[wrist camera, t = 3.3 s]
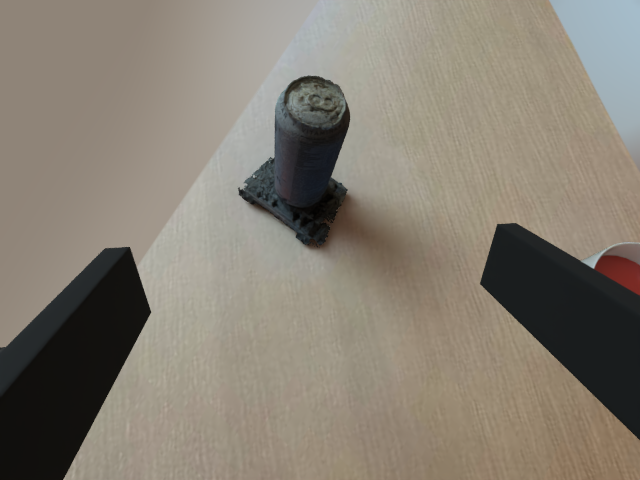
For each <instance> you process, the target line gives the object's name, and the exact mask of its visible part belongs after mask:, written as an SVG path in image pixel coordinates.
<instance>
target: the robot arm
mask: <svg viewBox="0 0 640 480" xmlns="http://www.w3.org/2000/svg"><path fill="white" fill-rule="evenodd" d="M480 284H481V285H482V286H483V287H484V288H485V289H486V290H487V291H488V292H489V293H490V294H491V295H492V296H493V297H494V298H495V299H496V300H497V301H498V302H499V303H500V304H501V305H502V306H503V307H504V308H505V309H506V310H507V311H508V312H509V313H510V314H511V315H512V316H513V317H514V318H515V319H516V320H517V321H518V322H520V323H521V324H522V325H523V326H524V327H525V328H526V329H527V330H528V331H529V332H530V333H531V334H532V335H533V336H534V337H535V338H536V339H537V340H538V341H539V342H540V343H541V344H542V345H543V346H544V347H545V348H546V349H547V350H548V351H549V352H550V353H551V354H552V355H553V356H554V357H555V358H556V359H557V360H558V361H559V362H560V363H561V364H562V365H563V366H565V367H566V368H567V369H568V370H569V371H570V372H571V373H572V374H573V375H574V376H575V377H576V378H577V379H578V380H579V381H580V382H581V383H582V384H583V385H584V386H585V387H586V388H587V389H588V390H589V391H590V392H591V393H592V394H593V395H594V396H595V397H596V398H597V399H598V400H599V401H600V402H601V403H602V404H603V405H604V406H605V407H606V408H607V409H608V410H610V411H611V412H612V413H613V414H614V415H615V416H616V417H617V418H618V419H619V420H620V421H621V422H622V423H623V424H624V425H625V426H626V427H627V428H628V429H629V430H630V431H631V432H632V433H633V434H634V435H635V436H636V437H637V438H638V439H639V440H640V295H638V294H636V293H634V292H633V291H631V290H629V289H628V288H626V287H624V286H622V285H621V284H619V283H617V282H616V281H614V280H612V279H610V278H609V277H607V276H605V275H604V274H602V273H600V272H599V271H597V270H595V269H593V268H592V267H590V266H588V265H587V264H585V263H583V262H581V261H580V260H578V259H576V258H575V257H573V256H571V255H569V254H568V253H566V252H564V251H563V250H561V249H559V248H557V247H556V246H554V245H552V244H551V243H549V242H547V241H545V240H544V239H542V238H540V237H539V236H537V235H535V234H533V233H532V232H530V231H528V230H527V229H525V228H523V227H521V226H520V225H518V224H516V223H510V224H497V227H496V231H495V234H494V238H493V241H492V244H491V248H490V251H489V255H488V258H487V262H486V265H485V268H484V272H483V275H482V279H481V282H480ZM150 314H151V310H150V307H149V304H148V301H147V298H146V295H145V292H144V289H143V286H142V283H141V280H140V277H139V273H138V270H137V267H136V264H135V262H134V258H133V255H132V252H131V249H130V247H122V248H105V249H104V250H103V251H102V252H101V253H100V254H99V255H98V256H97V257H96V258H95V259H94V260H93V261H92V262H91V263H90V264H89V265H88V266H87V267H86V268H85V269H84V270H83V271H82V272H81V273H80V274H79V275H78V276H77V277H76V278H75V279H74V280H73V281H72V282H71V283H70V284H69V285H68V286H67V287H66V288H65V289H64V290H63V291H62V292H61V293H60V294H59V295H58V296H57V297H56V298H55V299H54V300H53V301H52V302H51V303H50V304H49V305H48V306H47V307H46V308H45V309H44V310H43V311H42V312H41V313H40V314H39V315H38V316H37V317H36V318H35V319H34V320H33V321H32V322H31V323H30V324H29V325H28V326H27V327H26V328H25V329H24V330H23V331H22V332H21V333H20V334H19V335H18V336H17V337H16V338H15V339H14V340H13V341H12V342H11V343H10V344H9V345H8V346H7V347H3V348H0V480H63V479H64V477H65V475H66V473H67V471H68V470H69V468H70V466H71V464H72V462H73V460H74V458H75V456H76V454H77V452H78V451H79V449H80V447H81V445H82V443H83V441H84V439H85V437H86V435H87V433H88V431H89V430H90V428H91V426H92V424H93V422H94V420H95V418H96V416H97V414H98V412H99V411H100V409H101V407H102V405H103V403H104V401H105V399H106V397H107V395H108V393H109V392H110V390H111V388H112V386H113V384H114V382H115V380H116V378H117V376H118V374H119V373H120V371H121V369H122V367H123V365H124V363H125V361H126V359H127V357H128V355H129V354H130V352H131V350H132V348H133V346H134V344H135V342H136V340H137V338H138V336H139V334H140V333H141V331H142V329H143V327H144V325H145V323H146V321H147V319H148V317H149V315H150Z"/></svg>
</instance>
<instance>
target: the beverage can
mask: <svg viewBox="0 0 640 480" xmlns="http://www.w3.org/2000/svg"><path fill="white" fill-rule="evenodd" d="M349 122H350V112H349V108H348V104H347V102H346V100H345V97H344V94H343V93H342V90H341V89H340V87H339V86H338V85H337V84H334V83H333V82H331V81H330V80H325V79H323V78H322V77H321V78H320V77H319V76H318V77H317V76H304V77H300V78H298V79H297V80H294V81H293V82H291V83H290V84H289V85H288V87H287V88H286V89H285V90H284V91H283V92H282V93H281V95H280V96H279V98H278V100H277V103H276V108H275V157H274V159H273V158H271V157H270V158H269V161H266V162H265V164H263V165H261V167H260V169H259V170H257V171H256V172H255V173H254V174H253V175H255V176H257V177H256V178H253V175H252V176H251V178H250V177H249V178H248V179H247V180H245V182H244V183H247V184H248V186H245V187H246V188H245V189H244V190H245V191H243V189H242V190H240V189H239V188H238V189H239V195H240V196H242V198H243V199H244V200H246V201H247V202H250V203H251V204H259V205H261V206H263V208H265V209H268V211H270V213H272V214H274V215H275V217H276V218H278V219H280V220H281V221H282V222H284V223H285V224H286V225H289V226H291V227H290V228H292V229H293V230H294V231H296V232H297V235H296V238H297V239H298V240H300V241H301V242H303V243H304V244H307V243H308V242H309V239H314V240H316V241H317V243H318V244H320V245H322V244H323V243H324V242H325V241H326V240H325V238H326V237H328V236H327V234H328V232H329V231H328V230H330V227H329V225H328V226H327V225H326V223H321V222H322V221H323V220H324V218H325V219H326V218H327V217H328V218H329V220H330V221H331V222H332V220H334V219H333V218H335V216H336V213H337V211H336V210H337V209H338V208H339V207H340V206H341V202H343V199H344V197H345V195H346V193H347V192H346V191H347V190H348V189H346V188H345V187H343V186H342V183H338V182H337V181H335V180H334V179H333V178H331V175H332V172H333V169H334V167H335V164H336V161H337V159H338V155H339V152H340V150H341V148H342V144H343V142H344V139H345V136H346V133H347V130H348V127H349ZM267 159H268V158H267ZM270 159H272V160H270ZM269 162H270V163H269ZM246 178H247V177H246ZM345 190H346V191H345ZM329 215H330V217H329ZM328 218H327V220H328ZM329 220H328V221H329ZM330 221H329V222H330ZM331 222H330V223H331ZM332 223H333V222H332ZM310 243H311V242H309V244H310ZM313 244H314V243H313ZM315 244H316V243H315ZM316 245H317V244H316ZM314 247H315V246H314ZM317 247H318V246H317Z"/></svg>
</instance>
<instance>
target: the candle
mask: <svg viewBox="0 0 640 480" xmlns="http://www.w3.org/2000/svg"><path fill="white" fill-rule="evenodd" d="M581 262H583V263H585V264H587V265H588V266H590V267H592V268H593V269H595V270H597V271H599V272H600V273H602V274H604V275H605V276H607V277H609V278H610V279H612V280H614V281H616V282H617V283H619V284H621V285H622V286H624V287H626V288H628V289H629V290H631V291H633V292H634V293H636V294H638V295H640V243H637V242H624V243H618V244H615V245H612V246H610V247H608V248H606V249H604V250H602V251H600V252H598V253H596V254H594V255H592V256H590V257H588V258H586V259H584V260H582V261H581Z"/></svg>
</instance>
